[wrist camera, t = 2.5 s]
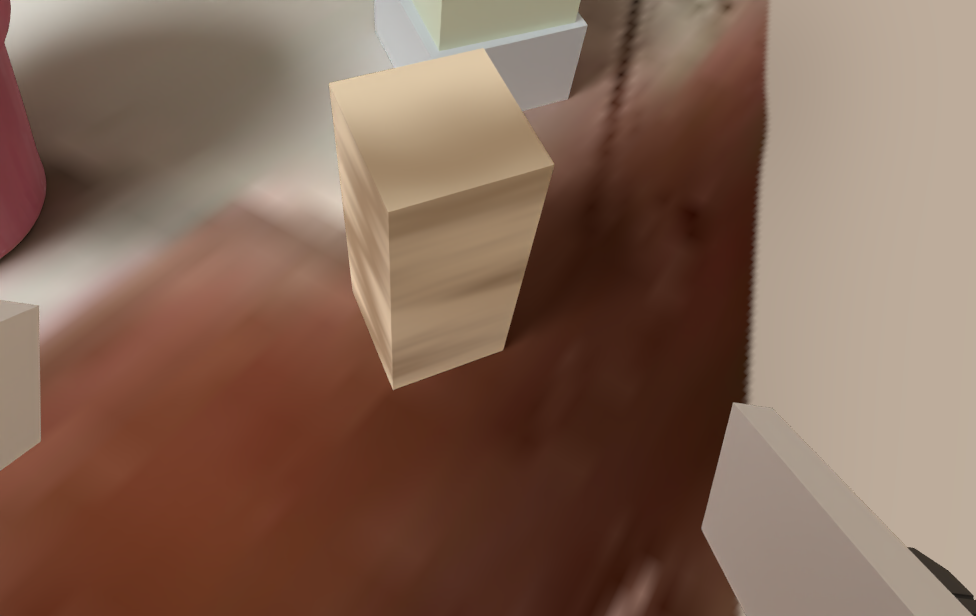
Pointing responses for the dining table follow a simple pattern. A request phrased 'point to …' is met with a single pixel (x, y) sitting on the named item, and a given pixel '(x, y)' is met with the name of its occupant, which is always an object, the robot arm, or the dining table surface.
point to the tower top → (490, 18)
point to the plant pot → (16, 155)
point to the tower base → (491, 52)
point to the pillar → (437, 208)
